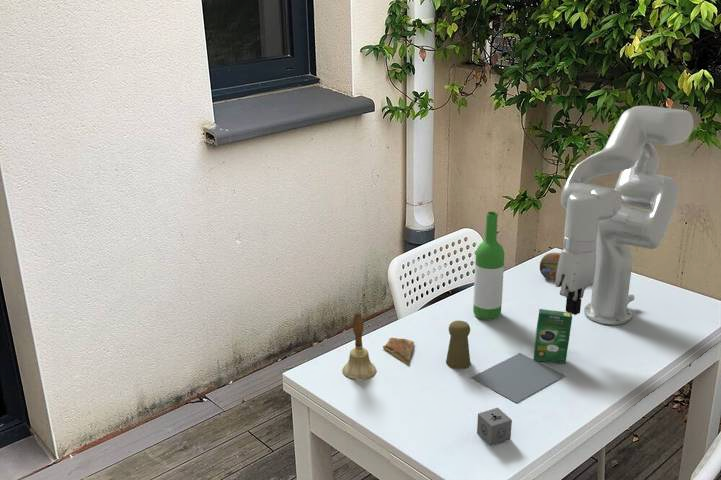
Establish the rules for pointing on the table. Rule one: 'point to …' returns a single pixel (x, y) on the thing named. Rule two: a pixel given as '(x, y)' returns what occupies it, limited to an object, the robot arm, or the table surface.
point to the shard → (400, 348)
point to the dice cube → (494, 426)
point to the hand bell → (358, 355)
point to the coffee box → (552, 336)
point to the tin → (549, 265)
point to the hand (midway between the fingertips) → (572, 312)
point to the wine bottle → (489, 273)
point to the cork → (458, 345)
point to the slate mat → (518, 377)
